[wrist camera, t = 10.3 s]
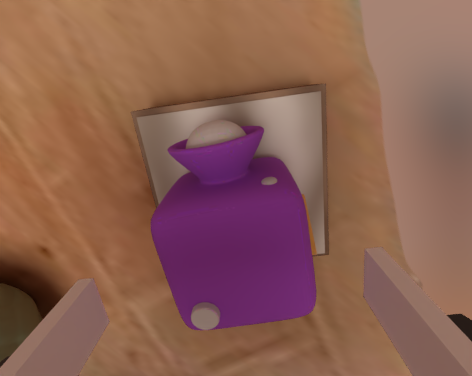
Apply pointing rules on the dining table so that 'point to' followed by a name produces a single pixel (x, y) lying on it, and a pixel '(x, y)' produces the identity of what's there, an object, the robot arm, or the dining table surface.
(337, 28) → the dining table surface
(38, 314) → the cabbage
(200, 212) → the toy camera
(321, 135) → the stand
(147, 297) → the dining table surface
